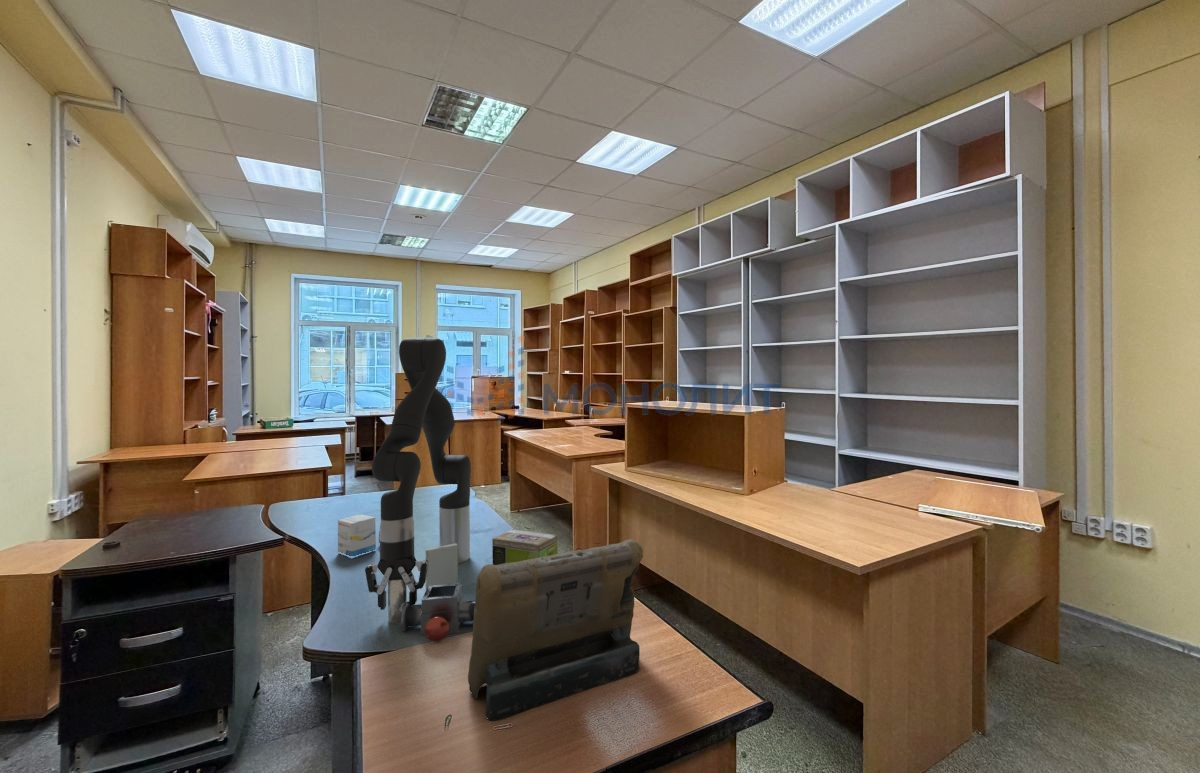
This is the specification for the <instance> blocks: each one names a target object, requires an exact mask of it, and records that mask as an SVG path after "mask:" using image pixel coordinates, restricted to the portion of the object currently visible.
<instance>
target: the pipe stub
mask: <svg viewBox="0 0 1200 773" xmlns="http://www.w3.org/2000/svg"><path fill="white" fill-rule="evenodd" d="M387 589H388V590H387V595H388V596H387V597H388V598H387V599H388V600H387V605H388V607H387V609H388V610H387V611H388V619H387V620H388V622H387V623H389V625H390V624H391V625H399V624H401V612H402V607H403V604H404V602H408V601H407V598H408V597H407V594H408V592H407V591H408V590H407V589H408V586H407V584H405V582H404V580H403V579H392V580H388V583H387Z"/></svg>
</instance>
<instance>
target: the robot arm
mask: <svg viewBox="0 0 1200 773" xmlns="http://www.w3.org/2000/svg"><path fill="white" fill-rule="evenodd" d="M446 349H447V348H446V346H445V342H444V341H443V340H442V339H440V338H437V337H406V338H404V339H402V340H401V341H400V343H399V346H398V356H399V361H400V365H401V368H402V371H403V372H404V376H405V378H406V380H407V382H408V385H409V388H410V391H409V392H408V393H407V394H406V395H405V396H404V397H403V398H402V400H401V401H400V402H399V403H398V405H397V407H396V409H395V410H394V411H395V412H394V415H393V417H392V420H391V421H392V422H391V424H390V430H389V432H388V434H387V436H386V437H385V439H384V440H383V442H382V444H381V445H380V447H379V449H378V450H377V452H376V453H375V456H374V458H373V461H372V462H371V472H372V475H373V477H374V478H375V479H376V480H378V481H379V482H399V486H398V489H395V490H390V491H387V492H384V493H383V494H382V495H381V497H380V523H379V531H380V533H379V532H378V539H379V538H380V545H379V561H378V562H377V563H372V562H371V563H369V564H368V565H367V566H365V569H364V572H365V577H366V583H367V584H366V585H367V589H368V592H369V593H376V594H377V607H378V608H380V611H382V610H383V611H385V609H386V607H387V590H386V588H387V586H388V580H392V579H403V580H404V582H405V584H407V589H408V590H409V592H408V600H409V602H410V605H416V604H417V602H418V590H419V589H420V590H421V589H422V588H424V586H425V585H426V574H427V568H428V560H425V559H424V560H417V559H416V557H415V521H414V505H413V504H414V495H415V490H416V486H417V482H418V479H419V475H420V472H421V468H422V467H421V464H422V463H421V459H420V457H419V456H418V454H417V453H416V452H413V451H402V449H405V448H408V447H410V446H411V447H412V446H414V445H417V443H419V440H420V437H421V433H422V430H423V432H424V433H423V434H424V437H425V439H426V443H427V446H428V447H427V448H428V450H429V452H428V453H429V456H430V462H431V467H432V472H433V476H434V477H433V478H434V479H435V481H436V482H437V483H438V484H440V485H457V486H456V490H453V491H452V492H450V493H449V492H448V493H447V494H444V495H442V496H441V497H440V498H439V502H438V503H439V504H438V506H439V507H438V508H439V510H438V513H439V519H438V520H439V547H440V546H445V545H450V544H457V545H458V564H463V563H465V562H467V561H469V560H470V559H469V558H470V557H471V552H470V551H471V547H470V546H471V526H470V525H471V523H470V521H471V520H470V518H471V517H470V504H471V503H470V502H471V501H470V499H471V498H470V497H471V475H472V462H471V458H470V457H469V456H468V455H466V454H446V453H445V446H446V444H447V441H448V439H449V438H450V437H451V435H452V433H453V430H454V428H455V424H456V423H455V421H456V420H455V417H454V413H453V408H452V405H451V403H450V402H449V400H448V399H447V398H446V397H445V395H444V394H443V393H442V392H441V391H439V390H438V388H437V385H438V382H439V380H440V377H441V376H442V372H443V370H444V367H445V364H446V358H447V350H446ZM468 559H469V560H468ZM414 568H417V570H418V572H419V577H418V581H416V579H415V575H414V573H413V570H414ZM377 571H379V572H381V574H382V575H383V577H382V579H381V581H380V583H379V584H378V583H377V577H376V576H377V575H376V573H377Z"/></svg>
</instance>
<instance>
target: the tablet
mask: <svg viewBox="0 0 1200 773" xmlns="http://www.w3.org/2000/svg"><path fill="white" fill-rule="evenodd" d="M643 550H644V549H643V547H642V545H641V544H640V543H639V542H637V541H636V540H634V539H631V538H629V539H626V540H623V541H622V542H618V543H612V544H611V543H610V544H607V545H603V546H597V547H596V546H595V547H590V548H587V549H576V550H575V549H574V550H569V551H567V552H562V553H561V552H560V553H558V554H555V555H551V556H544V557H539V558H535V559H529V560H525V561H519V562H513V563H504V564H500V565H493V563H490V564H489V563H488V564H486V565H484V566H482V568H481V570H480V571H479V573H478V575H477V576H476V584H475V586H476V587H475V598H474V600H475V607H474V620H473V621H472V625H473V626H472V642H471V650H470V659H469V664H468V673H467V681H468V686H469V687H468V688H469V691H470V693H471V692H472V694H471V697H472V698H473V699H476V698H478V696H479V690H480V689H481V687H482V686H483V685H485V684H486V700H485V701H486V702H485V703H486V704H485V706H486V707H485V718H486V717H487V718H488V719H489V720H488V719H487V718H486V719H487V720H488V721H496V720H499V719H502V718H506V717H508V716H509V717H510V716H512V715H515V714H519V713H523V712H525V711H527V710H530V709H533V708H536V707H540V706H542V705H545V704H548V703H552V702H555V701H558V700H560V699H564V698H567V697H570V696H572V695H575V694H578V693H581V692H584V691H587V690H590V689H593V688H597V687H599V686H602V685H605V684H608V683H610V682H614V681H617V680H620V679H623V678H626V677H627V676H630V675H633V674H636V673H638V672H639V671H640V654H641V653H640V644H639V643H638V642H637V641H635V640H633V639H632V638H631V632H632V625H633V624H632V623H633V618H634V609H635V591H634V589H633V588H632V587H631V585H632V582H633V581H632V580H633V578H634V575H635V574H636V573H637V572H638V570H639V567H640V566H639V565H640V563H641V562H642V560H643V557H644V555H643V553H644V552H643Z"/></svg>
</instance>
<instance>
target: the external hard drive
mask: <svg viewBox="0 0 1200 773" xmlns="http://www.w3.org/2000/svg"><path fill="white" fill-rule="evenodd" d="M424 552H425V559H424V560H428V568H427V574H426V580H425V591H426V590H427V587H428V586H431V585H445V584H459V581H458V580H459V578H458V577H459V574H458V571H459V565H458V545H457V544H450V545H445V546H440V545H439V546H436V547H435V546H434V547H429V548H425V550H424Z"/></svg>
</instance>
